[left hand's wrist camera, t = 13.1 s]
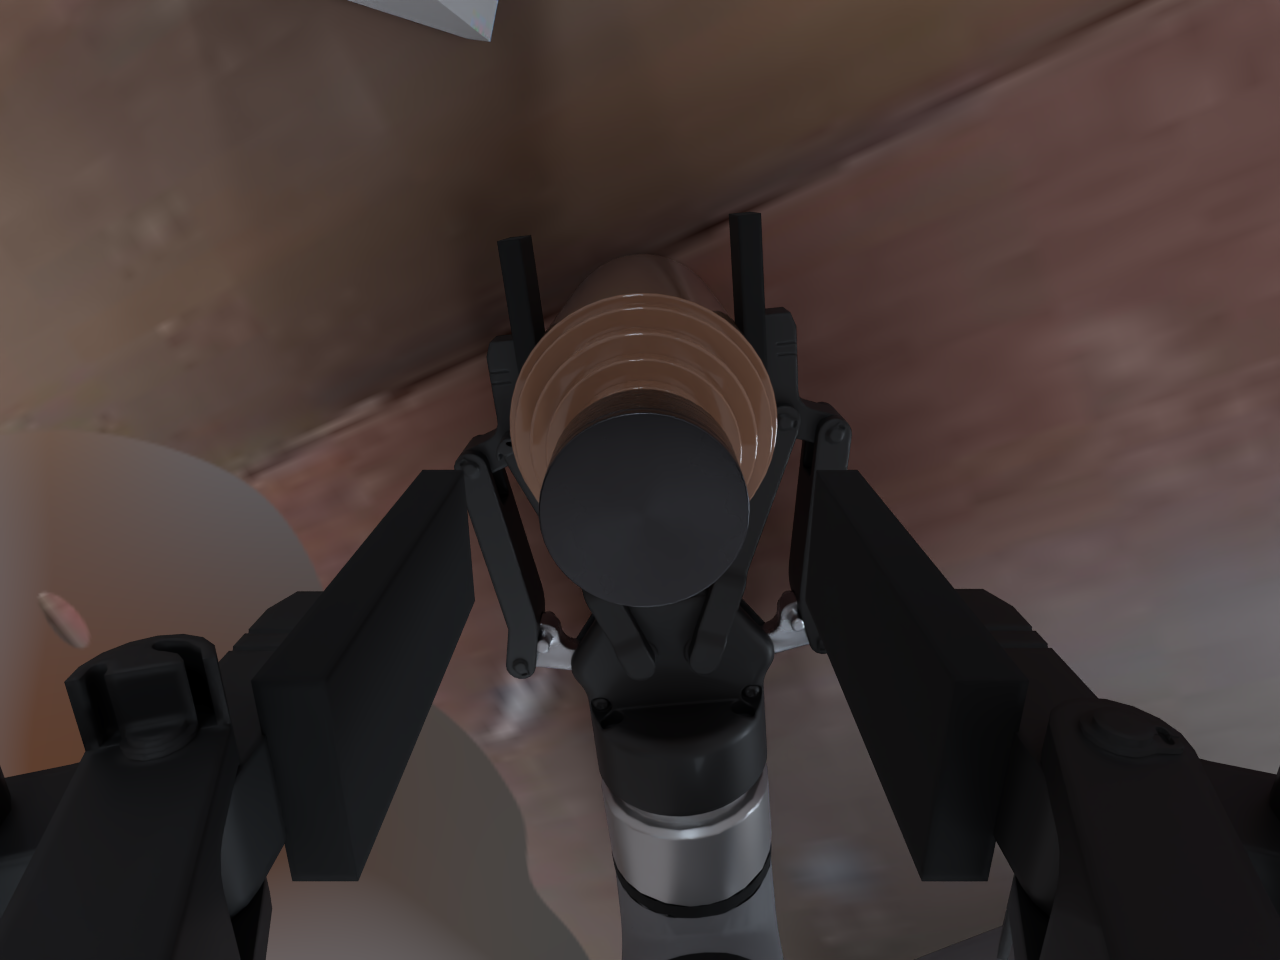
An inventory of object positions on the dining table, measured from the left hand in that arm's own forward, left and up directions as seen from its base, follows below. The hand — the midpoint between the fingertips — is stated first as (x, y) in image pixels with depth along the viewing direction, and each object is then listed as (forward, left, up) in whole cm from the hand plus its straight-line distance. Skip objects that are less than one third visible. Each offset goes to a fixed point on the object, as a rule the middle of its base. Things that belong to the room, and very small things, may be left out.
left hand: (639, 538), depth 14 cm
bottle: (0, 0, -21) cm, 21 cm away
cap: (0, 0, -1) cm, 1 cm away
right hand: (-5, 0, -14) cm, 15 cm away
